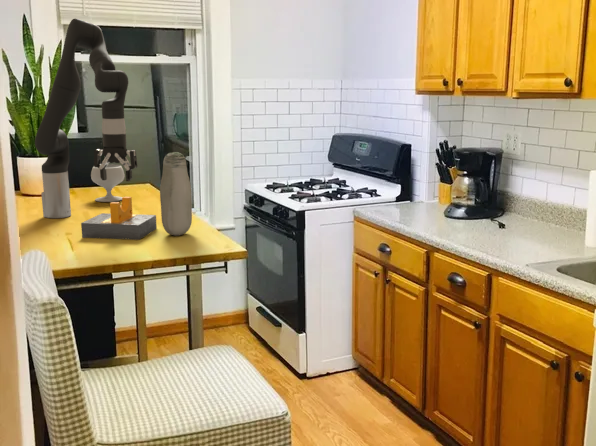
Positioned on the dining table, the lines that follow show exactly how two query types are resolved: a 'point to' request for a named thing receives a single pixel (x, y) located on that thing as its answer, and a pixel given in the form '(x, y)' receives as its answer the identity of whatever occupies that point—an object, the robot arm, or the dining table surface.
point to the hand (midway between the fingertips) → (116, 180)
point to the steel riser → (119, 227)
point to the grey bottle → (175, 195)
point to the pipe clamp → (121, 209)
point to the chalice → (108, 181)
